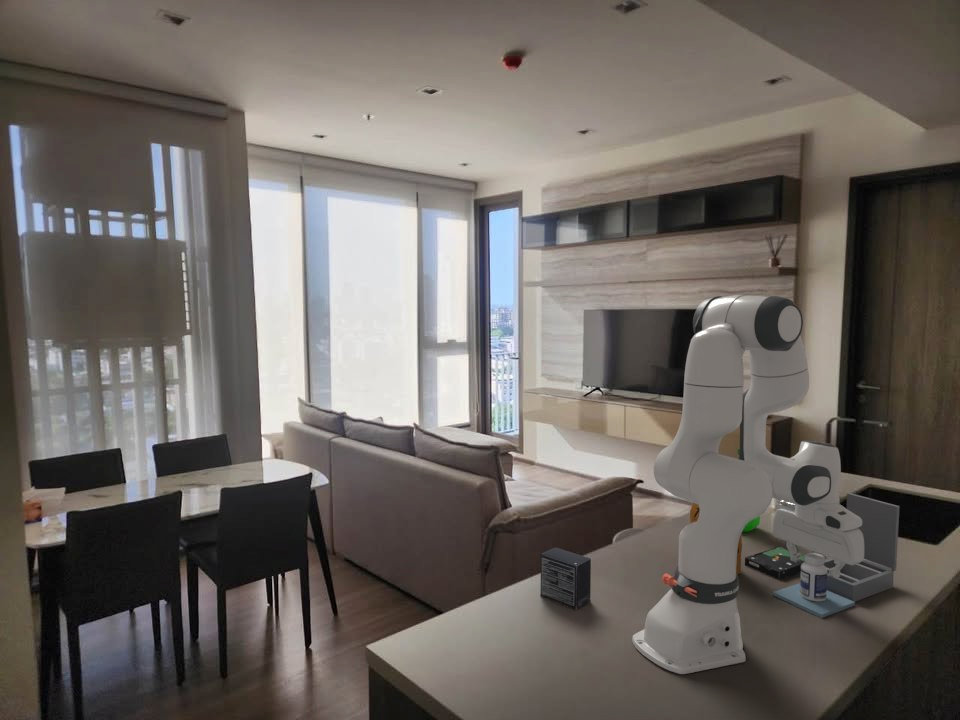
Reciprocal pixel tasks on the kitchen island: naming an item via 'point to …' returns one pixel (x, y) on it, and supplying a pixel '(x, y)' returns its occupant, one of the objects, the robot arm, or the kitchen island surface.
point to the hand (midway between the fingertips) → (814, 568)
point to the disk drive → (775, 563)
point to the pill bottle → (813, 578)
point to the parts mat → (817, 608)
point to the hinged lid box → (869, 551)
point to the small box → (565, 577)
